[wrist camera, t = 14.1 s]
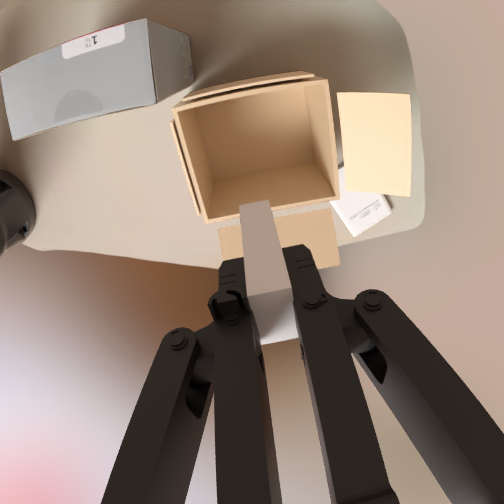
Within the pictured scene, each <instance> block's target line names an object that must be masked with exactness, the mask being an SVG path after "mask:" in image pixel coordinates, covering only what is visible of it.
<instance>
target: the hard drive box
mask: <svg viewBox="0 0 504 504" xmlns="http://www.w3.org/2000/svg"><path fill="white" fill-rule="evenodd" d="M0 76H1V84H2V90H3V96H4V102H5V108H6V113H7V117H8V122H9V127H10V131H11V135H12V140H14V141H17V140H20V139H24V138H27V137H30V136H33V135H36V134H39V133H42V132H45V131H48V130H52V129H55V128H58V127H62V126H65V125H69V124H72V123H76V122H80V121H84V120H88V119H92V118H96V117H101V116H105V115H110V114H114V113H119V112H124V111H129V110H134V109H139V108H144V107H148V106H153V105H155V104H157V103H159V102H161V101H163V100H165V99H166V98H168V97H170V96H172V95H174V94H176V93H178V92H180V91H182V90H184V89H186V88H188V87H190V86H192V85H193V83H194V78H193V67H192V58H191V48H190V38H189V35H187V34H185V33H182V32H180V31H177V30H175V29H172V28H170V27H167V26H164V25H162V24H159V23H156V22H154V21H151V20H148V19H147V18H144V19H139V20H135V21H131V22H127V23H123V24H119V25H115V26H112V27H108V28H105V29H102V30H98V31H95V32H92V33H89V34H86V35H83V36H81V37H78V38H75V39H73V40H70V41H67V42H65V43H62V44H60V45H58V46H55V47H53V48H50V49H47V50H45V51H42V52H40V53H38V54H35V55H33V56H31V57H29V58H27V59H25V60H22V61H20V62H18V63H16V64H14V65H12V66H10V67H8V68H6V69H4V70H3V71H1V72H0Z"/></svg>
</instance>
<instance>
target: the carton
mask: <svg viewBox="0 0 504 504" xmlns="http://www.w3.org/2000/svg"><path fill="white" fill-rule="evenodd" d="M171 110H172V114H173V117H174V119H173V120H172V121H171V122H170V127H171V130H172V134H173V137H174V141H175V144H176V147H177V151H178V154H179V157H180V161H181V164H182V167H183V171H184V174H185V177H186V181H187V184H188V187H189V190H190V194H191V197H192V200H193V203H194V206H195V209H196V213H197V216H200V214H201V212H202V216H203V219H204V222H205V224H209V223H213V222H218V221H224V220H229V219H234V218H239V217H240V210H239V205H243V204H248V203H253V202H258V201H263V200H269V203H270V207H271V211H276V210H281V209H287V208H292V207H298V206H304V205H310V204H315V203H321V202H327V201H333V200H339V199H340V190H339V176H338V164H337V153H336V142H335V133H334V124H333V115H332V107H331V99H330V92H329V85H328V79H325V78H321V77H318V76H314V74H312V73H308V72H304V71H296V72H288V73H281V74H274V75H268V76H262V77H256V78H251V79H245V80H240V81H235V82H230V83H226V84H221V85H217V86H212V87H208V88H204V89H200V90H196V91H192V92H190V93H189V94H188V95H186V96H185V97H184V98H182V100H181V101H180V102H179V103H178V104H176V105H175V106H174V107H173V108H172V109H171Z"/></svg>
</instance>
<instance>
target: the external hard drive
mask: <svg viewBox="0 0 504 504" xmlns="http://www.w3.org/2000/svg"><path fill="white" fill-rule="evenodd" d="M338 176H339V190H340V199H339V200H333V201H330V203H331V204H332V206H333V207H334V209H335V210H336V211H337V213H338V214H339V216H340V217H341V219H342V220H343V222H344V223H345V225H346V226H347V228H348V229H349V230H350V232H351V233H352V235H353V236H354V237H355V236H357V235H359V234H360V233H362V232H363V231H365V230H366V229H368V228H369V227H371V226H373V225H374V224H376V223H377V222H379V221H380V220H382V219H383V218H385V217H386V216H388V215H389V214H391V213H392V210H391V208H390V206H389V204H388V202H387V200H386V198H385V197H384V195H383V194H378V193H368V192H356V191H346V186H345V171H344V163H342V164H341V165H339V166H338Z"/></svg>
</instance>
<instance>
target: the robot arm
mask: <svg viewBox="0 0 504 504" xmlns="http://www.w3.org/2000/svg"><path fill="white" fill-rule="evenodd" d="M239 210H240V222H241V233H242V245H243V256H244V257H239V258H234V259H230V260H225V261H223V262H222V264H221V266H220V268H219V291H217V292H216V293H214V294H213V295H212V297H211V298H210V299H209V301H208V307H209V309H210V311H211V314H212V317H213V319H214V321H213V322H212V323H211V324H209V325H208V326H206V327H205V328H202V329H200V330H198V331H196V332H193V331H192V330H190V329H188V328H184V327H183V328H177V329H174V330H172V331H170V332H169V333H168V334H167V335H165V337H164V338H163V340H162V342H161V344H160V347H159V349H158V351H157V354H156V356H155V358H154V361H153V363H152V366H151V368H150V371H149V373H148V376H147V379H146V381H145V383H144V386H143V388H142V391H141V394H140V396H139V399H138V402H137V404H136V406H135V409H134V412H133V414H132V417H131V420H130V423H129V425H128V428H127V430H126V433H125V436H124V439H123V441H122V444H121V447H120V449H119V453H118V455H117V458H116V461H115V463H114V466H113V469H112V472H111V475H110V478H109V481H108V484H107V487H106V490H105V493H104V496H103V499H102V502H101V504H185V500H186V496H187V492H188V488H189V485H190V481H191V477H192V473H193V469H194V466H195V462H196V458H197V454H198V450H199V446H200V443H201V439H202V435H203V431H204V427H205V424H206V420H207V416H208V412H209V408H210V405H211V401H212V397H213V393H214V410H215V411H214V414H215V454H216V481H217V482H216V483H217V503H218V504H282V497H281V489H280V482H279V474H278V466H277V458H276V451H275V443H274V435H273V427H272V419H271V412H270V404H269V396H268V389H267V380H266V372H265V365H264V357H263V353H262V350H261V344H262V345H263V344H268V343H274V342H279V341H284V340H289V339H294V338H299V341H300V348H301V356H302V360H303V362H304V367H305V371H306V376H307V381H308V385H309V390H310V395H311V400H312V405H313V410H314V415H315V420H316V425H317V430H318V435H319V440H320V445H321V450H322V455H323V461H324V466H325V471H326V476H327V482H328V487H329V493H330V498H331V504H400V503H399V500H398V497H397V495H396V493H395V492H394V491H393V489H392V488H391V486H390V484H389V480H388V477H387V473H386V469H385V465H384V461H383V458H382V454H381V450H380V447H379V443H378V440H377V436H376V433H375V429H374V426H373V422H372V419H371V416H370V412H369V409H368V406H367V402H366V400H365V396H364V393H363V390H362V386H361V383H360V380H359V377H358V374H357V371H356V368H355V365H354V362H353V359H352V356H351V353H353V355H354V356H355V358H356V359H357V361H358V362H359V363H360V365H361V366H362V368H363V369H364V371H365V372H366V374H367V375H368V377H369V378H370V380H371V381H372V383H373V384H374V386H375V387H376V389H377V390H378V391H379V393H380V394H381V396H382V397H383V399H384V400H385V402H386V403H387V405H388V406H389V408H390V409H391V411H392V412H393V414H394V415H395V417H396V418H397V420H398V421H399V423H400V424H401V426H402V427H403V429H404V430H405V432H406V433H407V435H408V436H409V438H410V440H411V441H412V443H413V444H414V446H415V447H416V449H417V450H418V452H419V453H420V455H421V456H422V458H423V459H424V461H425V462H426V464H427V466H428V467H429V469H430V470H431V472H432V473H433V475H434V477H435V478H436V480H437V481H438V483H439V484H440V486H441V488H442V489H443V491H444V492H445V494H446V496H447V497H448V498H449V500H450V501H451V502H452V504H504V434H503V432H502V431H501V430H500V428H499V427H498V426H497V424H496V423H495V422H494V420H493V419H492V418H491V417H490V415H489V414H488V412H487V411H486V410H485V408H484V407H483V406H482V405H481V403H480V402H479V401H478V400H477V399H476V397H475V396H474V395H473V393H472V392H471V391H470V390H469V388H468V387H467V386H466V384H465V383H464V382H463V381H462V380H461V378H460V377H459V376H458V375H457V373H456V372H455V371H454V370H453V369H452V367H451V366H450V365H449V364H448V363H447V361H446V360H445V359H444V358H443V357H442V355H441V354H440V353H439V352H438V351H437V350H436V348H435V347H434V346H433V345H432V344H431V343H430V341H429V340H428V339H427V338H426V337H425V336H424V335H423V334H422V332H421V331H420V330H419V329H418V328H417V327H416V326H415V324H414V323H413V322H412V321H411V320H410V319H409V318H408V317H407V316H406V314H405V313H404V312H403V311H402V310H401V309H400V308H399V307H398V306H397V305H396V304H395V303H394V301H393V300H392V299H391V298H390V297H389V296H388V295H387V294H385V293H384V292H382V291H379V290H375V289H373V290H372V289H369V290H365V291H362V292H361V293H360V294H358V295H357V296H356V298H355V299H354V300H348V299H339V298H335V297H333V296H331V295H330V294H328V293H327V292H326V290H325V288H324V286H323V283H322V280H321V277H320V275H319V272H318V269H317V267H316V264H315V261H314V259H313V256H312V253H311V251H310V249H309V248H307V247H306V246H305V245H304V244H299V245H295V246H290V247H285V248H281V244H280V241H279V237H278V233H277V229H276V226H275V222H274V218H273V214H272V211H271V207H270V203H269V200H263V201H258V202H253V203H248V204H243V205H239ZM34 224H35V209H34V205H33V202H32V199H31V197H30V195H29V193H28V191H27V189H26V188H25V186H24V185H23V184H22V183H21V182H20V181H19V180H18V179H17V178H16V177H15V176H13V175H12V174H10V173H8V172H5V171H0V256H1V255H2V254H3V253H4V252H6V251H8V250H9V249H12V248H14V247H15V246H18V245H19V244H21V243H23V242H24V241H25V240H26V238H27V237H28V236H29V235H30V234H31V232H32V230H33V228H34ZM260 342H261V343H260Z"/></svg>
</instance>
